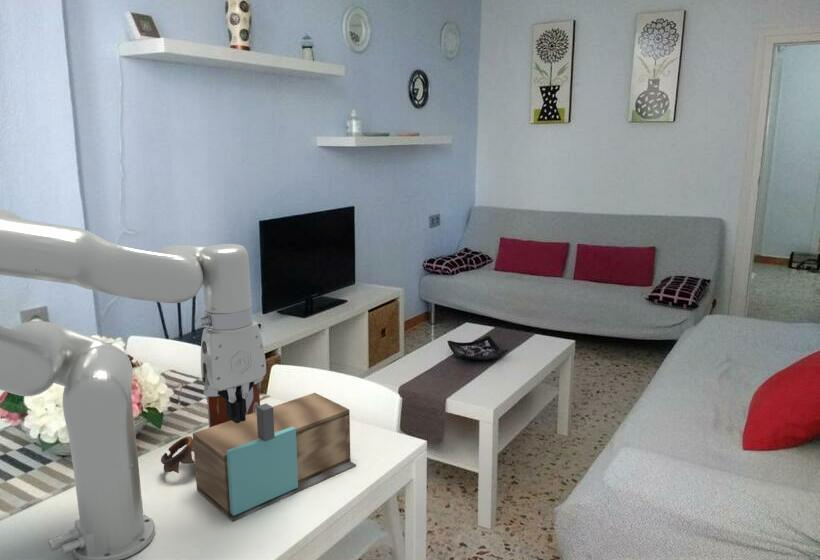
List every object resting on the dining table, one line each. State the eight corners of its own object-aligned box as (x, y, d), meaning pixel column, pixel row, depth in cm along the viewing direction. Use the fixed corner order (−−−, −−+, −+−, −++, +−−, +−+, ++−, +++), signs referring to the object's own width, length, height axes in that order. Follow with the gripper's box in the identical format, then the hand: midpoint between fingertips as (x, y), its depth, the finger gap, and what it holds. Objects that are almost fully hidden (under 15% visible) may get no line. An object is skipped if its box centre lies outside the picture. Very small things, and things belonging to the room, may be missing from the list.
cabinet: (232, 521, 112) (228, 459, 109) (196, 490, 122) (192, 433, 119) (355, 466, 131) (355, 412, 128) (316, 443, 141) (314, 392, 138)
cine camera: (273, 414, 155) (269, 336, 151) (245, 452, 137) (240, 364, 132) (237, 412, 156) (232, 334, 152) (204, 450, 137) (197, 362, 133)
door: (235, 517, 112) (229, 421, 108) (228, 511, 114) (222, 417, 110) (299, 488, 121) (296, 399, 117) (292, 483, 123) (289, 395, 119)
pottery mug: (207, 488, 124) (182, 457, 121) (172, 499, 127) (147, 470, 124) (233, 445, 134) (210, 417, 131) (200, 457, 138) (177, 429, 135)
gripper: (197, 333, 98) (207, 441, 102) (280, 313, 108) (285, 413, 112) (176, 323, 104) (186, 426, 108) (257, 305, 114) (263, 401, 118)
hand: (237, 419), depth 110 cm, fingers closed
